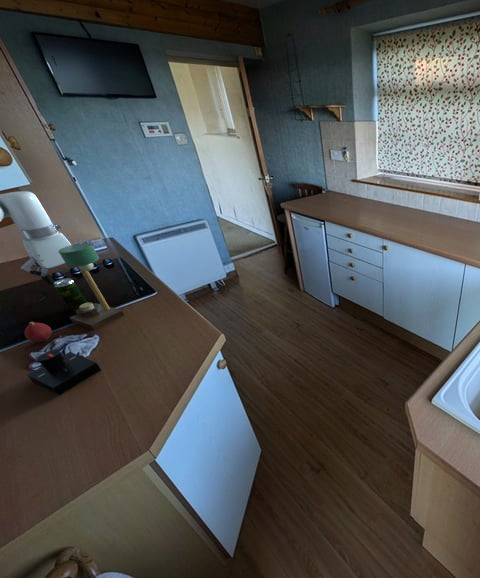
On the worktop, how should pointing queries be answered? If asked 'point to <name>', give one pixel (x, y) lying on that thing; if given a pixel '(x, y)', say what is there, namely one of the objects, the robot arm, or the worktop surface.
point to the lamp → (83, 264)
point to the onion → (38, 332)
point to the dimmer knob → (53, 360)
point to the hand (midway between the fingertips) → (69, 278)
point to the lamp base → (96, 316)
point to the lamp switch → (86, 306)
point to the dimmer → (65, 374)
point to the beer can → (70, 293)
